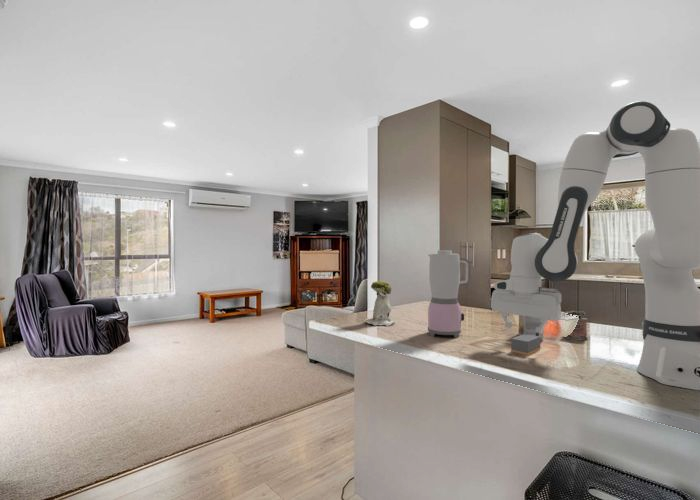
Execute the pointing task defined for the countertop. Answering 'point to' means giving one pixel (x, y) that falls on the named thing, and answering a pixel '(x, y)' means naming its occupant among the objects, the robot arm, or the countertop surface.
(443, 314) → the blender
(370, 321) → the stone planter with plant
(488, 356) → the countertop surface
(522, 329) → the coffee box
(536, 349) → the block
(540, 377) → the countertop surface
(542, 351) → the oak board
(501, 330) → the countertop surface
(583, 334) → the maroon upright canister
